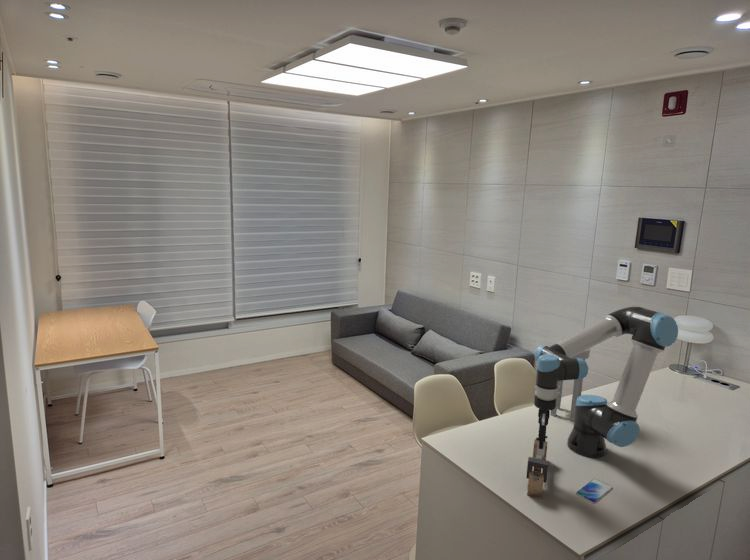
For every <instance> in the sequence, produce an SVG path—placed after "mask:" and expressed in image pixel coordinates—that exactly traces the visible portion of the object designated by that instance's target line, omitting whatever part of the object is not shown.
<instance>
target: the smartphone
mask: <svg viewBox="0 0 750 560" xmlns="http://www.w3.org/2000/svg"><path fill="white" fill-rule="evenodd" d="M612 490H613V486H612V485H610V484H607V483H606V482H604V481H602V480H599V479H597V478H593V479H591V480H590V481H589V482H588V483H586V484H584V485H583V486H582V487H581V488H579V489H578V490H577V491H576V492H575V495H576V496H578V497H580V498H582V499H583V500H586V501H587V502H590V503H591V504H594V505H595V504H597V503H598V502H599V501H600V500H601V499H602V498H604V497H605V496H606V495H607V494H608V493H610V491H612Z"/></svg>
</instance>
